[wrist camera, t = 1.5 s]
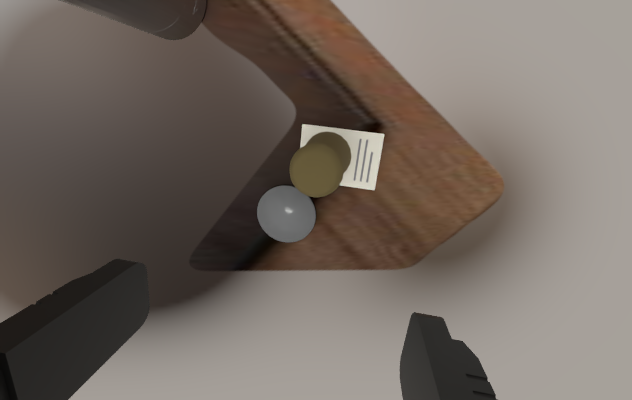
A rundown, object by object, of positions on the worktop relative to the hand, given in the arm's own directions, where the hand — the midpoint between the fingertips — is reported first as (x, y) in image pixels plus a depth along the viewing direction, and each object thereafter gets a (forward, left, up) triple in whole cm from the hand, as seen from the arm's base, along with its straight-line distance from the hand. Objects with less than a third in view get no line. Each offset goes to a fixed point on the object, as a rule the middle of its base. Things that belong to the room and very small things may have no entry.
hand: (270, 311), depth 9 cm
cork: (-2, 0, -30) cm, 30 cm away
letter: (0, 0, -30) cm, 30 cm away
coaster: (-6, -9, -30) cm, 32 cm away
